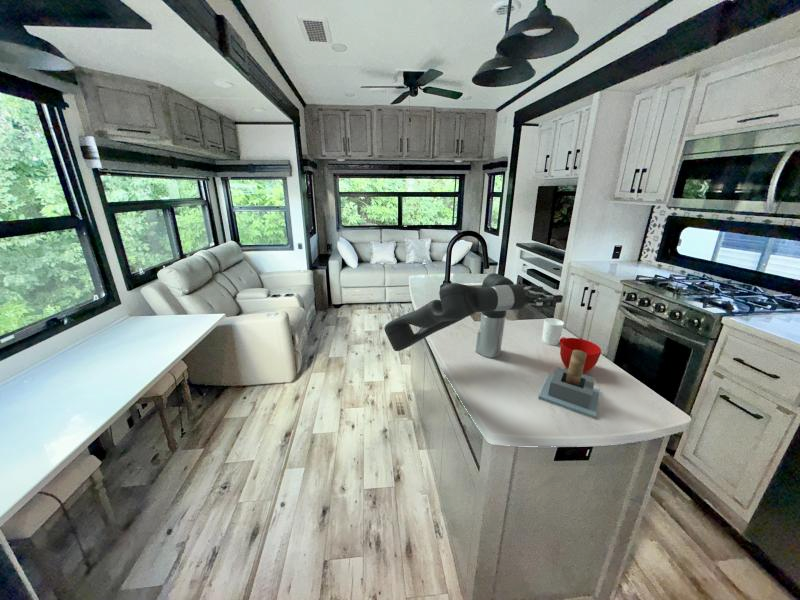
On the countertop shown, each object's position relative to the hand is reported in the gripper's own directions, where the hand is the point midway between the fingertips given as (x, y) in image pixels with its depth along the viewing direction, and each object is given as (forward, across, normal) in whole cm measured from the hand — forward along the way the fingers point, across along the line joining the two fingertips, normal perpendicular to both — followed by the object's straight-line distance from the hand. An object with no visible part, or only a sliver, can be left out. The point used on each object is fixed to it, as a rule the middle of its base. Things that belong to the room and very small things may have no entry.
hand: (551, 294), depth 95 cm
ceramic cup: (+24, -8, -34) cm, 42 cm away
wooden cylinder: (+9, +7, -33) cm, 35 cm away
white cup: (+30, -28, -34) cm, 53 cm away
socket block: (+9, +7, -34) cm, 36 cm away
